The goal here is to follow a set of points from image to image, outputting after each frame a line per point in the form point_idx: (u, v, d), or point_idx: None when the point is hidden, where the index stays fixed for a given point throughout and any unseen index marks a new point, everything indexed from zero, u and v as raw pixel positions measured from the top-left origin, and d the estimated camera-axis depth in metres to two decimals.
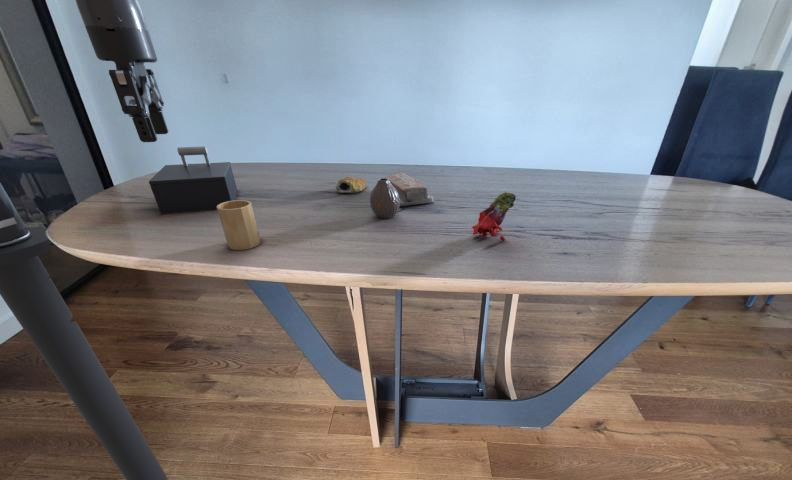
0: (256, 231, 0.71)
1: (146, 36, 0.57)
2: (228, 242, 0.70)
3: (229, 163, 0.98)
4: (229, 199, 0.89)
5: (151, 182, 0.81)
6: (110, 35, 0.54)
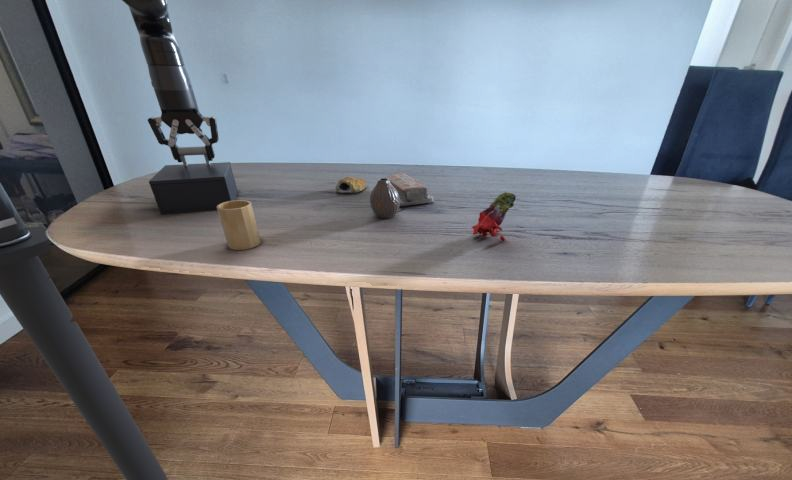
0: (256, 231, 0.71)
1: (166, 94, 0.84)
2: (228, 242, 0.70)
3: (229, 163, 0.98)
4: (229, 199, 0.89)
5: (151, 182, 0.81)
6: None
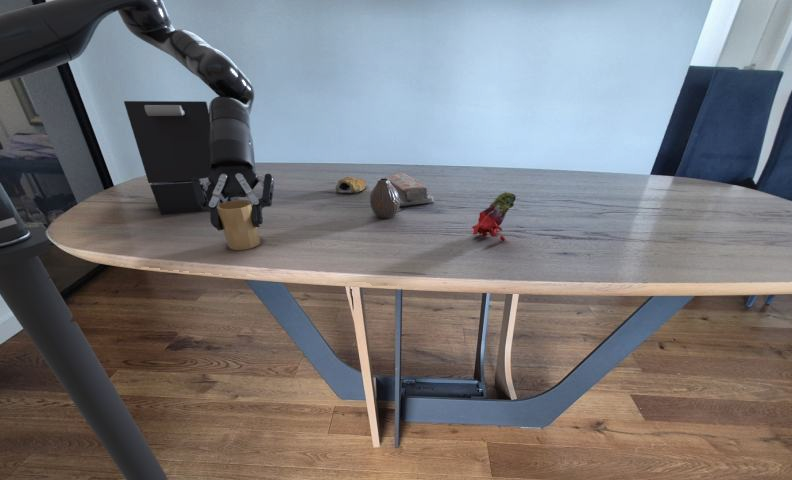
0: (256, 231, 0.71)
1: (219, 143, 0.69)
2: (228, 242, 0.70)
3: (207, 110, 0.82)
4: (229, 199, 0.89)
5: None
6: None
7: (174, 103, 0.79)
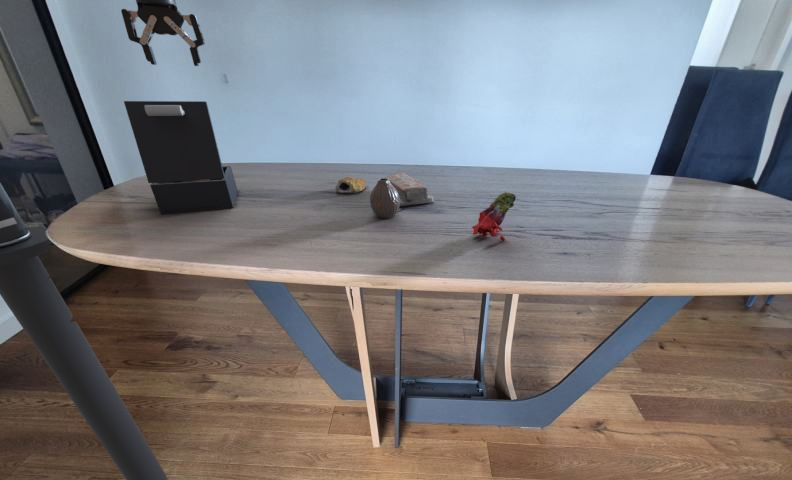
0: None
1: None
2: None
3: (207, 110, 0.82)
4: (229, 199, 0.89)
5: None
6: None
7: (174, 103, 0.79)
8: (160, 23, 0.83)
